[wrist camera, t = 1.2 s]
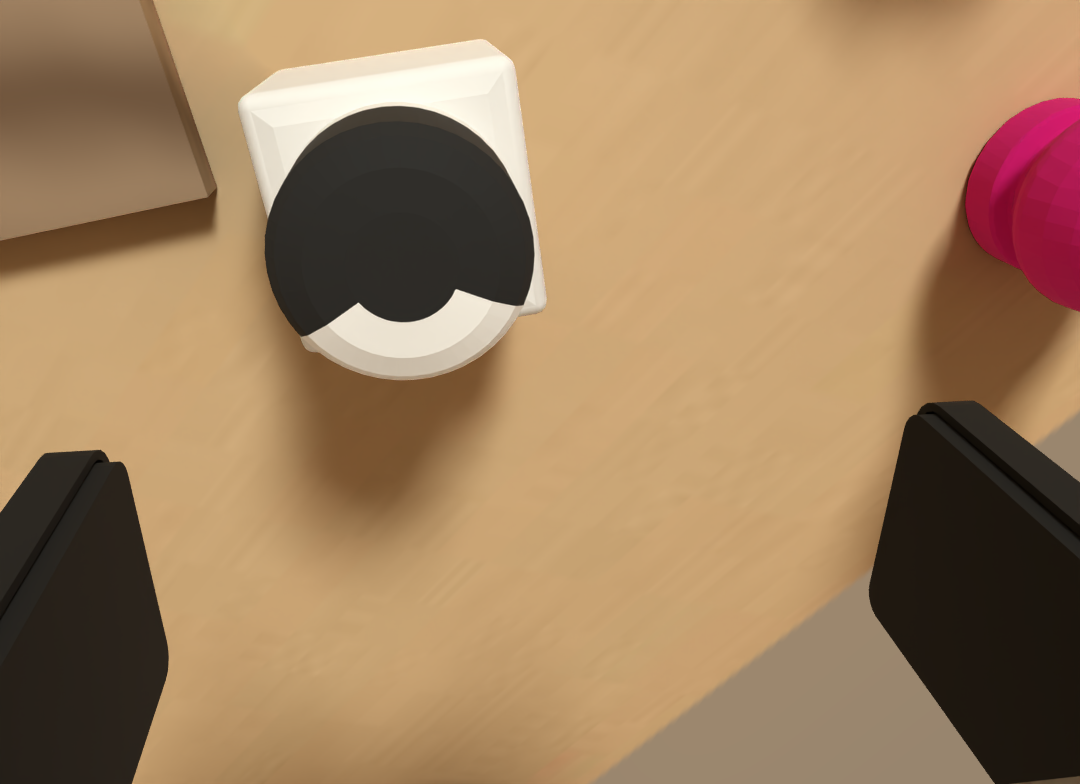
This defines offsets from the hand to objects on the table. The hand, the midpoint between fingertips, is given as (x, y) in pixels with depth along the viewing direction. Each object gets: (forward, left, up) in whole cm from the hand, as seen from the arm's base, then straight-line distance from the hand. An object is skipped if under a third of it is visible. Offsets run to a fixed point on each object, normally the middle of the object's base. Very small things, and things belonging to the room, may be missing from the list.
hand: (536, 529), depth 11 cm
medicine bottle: (0, +2, -22) cm, 22 cm away
